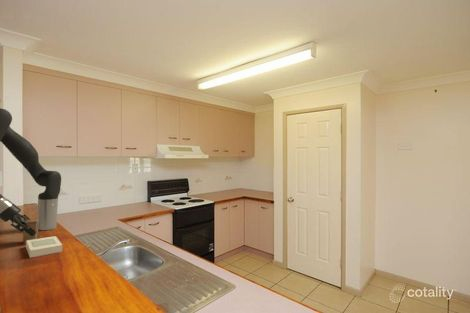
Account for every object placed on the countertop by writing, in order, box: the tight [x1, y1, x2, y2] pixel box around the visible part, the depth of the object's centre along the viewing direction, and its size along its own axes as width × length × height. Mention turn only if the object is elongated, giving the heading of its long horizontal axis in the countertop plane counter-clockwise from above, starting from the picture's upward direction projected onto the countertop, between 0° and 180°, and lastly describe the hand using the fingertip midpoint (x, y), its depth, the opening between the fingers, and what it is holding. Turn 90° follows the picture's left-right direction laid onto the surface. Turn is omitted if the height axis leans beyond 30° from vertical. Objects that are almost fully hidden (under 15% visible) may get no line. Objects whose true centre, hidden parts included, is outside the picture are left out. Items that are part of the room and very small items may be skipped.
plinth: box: [25, 235, 63, 259], centre depth 111 cm, size 16×11×3 cm
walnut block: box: [22, 219, 39, 245], centre depth 120 cm, size 5×5×10 cm
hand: (35, 233), depth 121 cm, fingers closed on walnut block, 4 cm apart
